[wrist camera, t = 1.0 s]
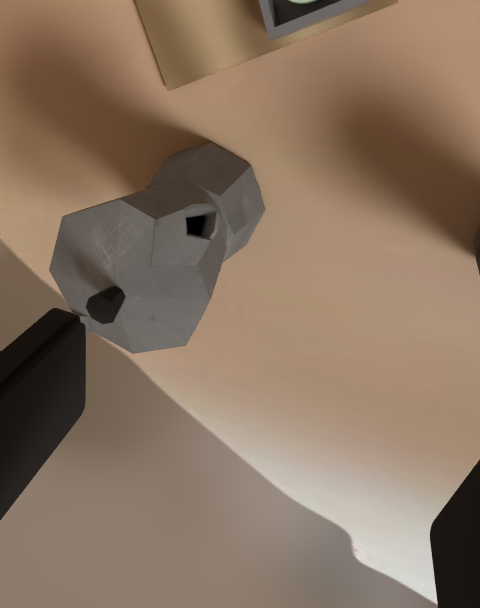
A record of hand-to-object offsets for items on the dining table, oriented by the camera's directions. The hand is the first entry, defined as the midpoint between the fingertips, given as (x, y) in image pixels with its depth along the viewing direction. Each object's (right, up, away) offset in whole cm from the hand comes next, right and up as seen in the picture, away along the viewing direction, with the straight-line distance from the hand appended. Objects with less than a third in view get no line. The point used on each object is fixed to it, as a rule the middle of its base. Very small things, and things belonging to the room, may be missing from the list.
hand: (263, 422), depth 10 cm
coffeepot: (-4, +11, +27) cm, 29 cm away
